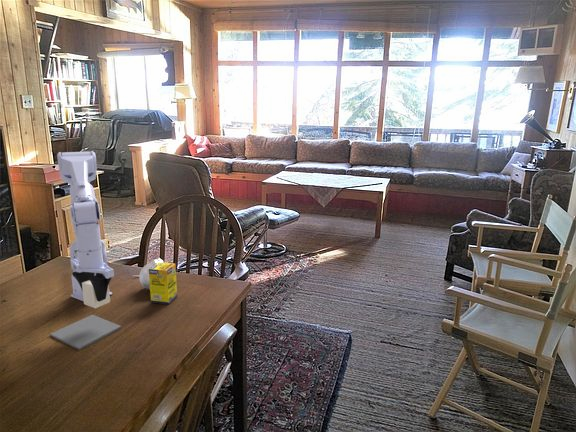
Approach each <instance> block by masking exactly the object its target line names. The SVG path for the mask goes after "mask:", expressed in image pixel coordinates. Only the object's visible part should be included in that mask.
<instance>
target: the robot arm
mask: <svg viewBox="0 0 576 432" xmlns="http://www.w3.org/2000/svg"><path fill="white" fill-rule="evenodd" d="M56 156H57V164H58V165H57V167H58V172H59V175H60V179H61V180H62V182H64V183H67V184H69V186H70V187H69V196H70V205H69V211H70V213H69V214H70V220H71V221H70V222H71V224H72V227H73V231H74V234H75V235H74V236H75V237H74V238H75V240H74V241H73V242H72V243H71V244H70V246H69V259H70V267H71V270H73V271H72V273H71V277H70V278H71V286H72V292H73V293H72V294H70V297H71V298H74V299H76V300H79V301H81V302H84V299H83V289H82V282H85V281H88V280H90V282H91V283H92V285H93V288H94V291H95V295H96V299H97V301H99V302H100V301H102V300H104V299H106V294H107V289H108V285H109V286H110V282H111V280H112V278H113V277H115V272H114V271H115V270H114V268H112V267H110V266H109V265H108V254H107V249H106V243H105V242H104V240H103V239H102V237H101V228H100V224H101V221H102V219H101V215H102V214H101V208H100V204H99V202H98V199H97V198H96V194H95V188H94V186H93V185H92V184H91V182H93V181H94V180H97V179H96V178H97V171H98V167H97V166H98V164H97V163H98V162H97V156H96V152H94V151H93V150H91V151H68V152H67V151H65V152H61V151H59V152H58V153H57V155H56ZM109 293H110V296H111V295H113V292H111V291H109Z"/></svg>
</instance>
